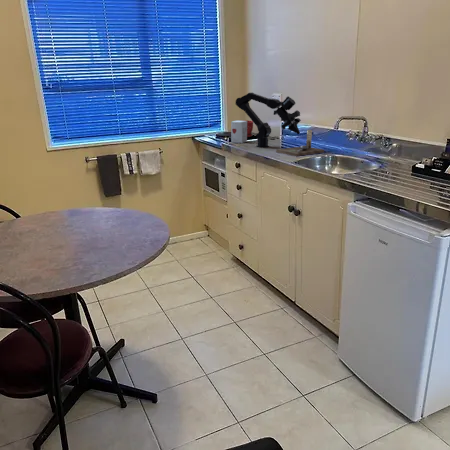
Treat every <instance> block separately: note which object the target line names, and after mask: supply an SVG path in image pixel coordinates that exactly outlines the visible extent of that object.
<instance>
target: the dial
mask: <svg viewBox="0 0 450 450" xmlns="http://www.w3.org/2000/svg"><path fill="white" fill-rule="evenodd" d="M312 135H313V129H306V143H305V144H306V145H300V146H299V147H300V150H297V151H298V152H299V151H301V150H307V148H312V138H313V137H312Z"/></svg>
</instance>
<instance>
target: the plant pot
mask: <svg viewBox="0 0 450 450" xmlns="http://www.w3.org/2000/svg"><path fill="white" fill-rule="evenodd" d="M244 121H247V138H250V137H252V135H253V133H252V132H253V129H254V122H253V121H252V120H246V119H245V120H244Z"/></svg>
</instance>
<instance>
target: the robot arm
mask: <svg viewBox="0 0 450 450" xmlns="http://www.w3.org/2000/svg"><path fill="white" fill-rule="evenodd" d="M251 100H253V101H255V102H257V103H258V102H259V103H261V104H263V105H265V106H266V107H268V108H269V109H271V110H273V114H272V115H275V116H276V115H277V116H278V117H279V118H280V121H281V122H283V123H282V124H281V130H283V131H284V130H286V127H287V130H289V131H291V132H293V133H296V134H297V135H300V134H301V131H300V130H299V126H298V124H299V123H300V122H301V121H302V120H301V119H300V118H299V117H300V116H301V112H300V111H299V110H297V109H296V110H295V111H294V112H288V111H290V110H292V108H293V107H294V106H296V102H295V100H294V99H293V98H292V97H290V96H286V97H285V99H284V100H283V101H280V99H277V98H268V97H266V96H263V95H260V94H257V93H254V92H248V93H246V94H245V95H243V96H241V97H237V98H236V99H235V105H236V106H237V108H239V109H241V111H244V112H245V114H246V115H247V117H248V118H249V119H250V121H253V124H254V125H255V126H256V128H257V131H258V132H257V133H256V134H255V137H256V139H257V145H256V147H258V148H269V139H268V138H269V136H270V135H271V134H272V128H271V126H270V125H269V123H268V122H264V121H262V120H261V119H260V117H259V116H258V115H257V114H256V112H255V111H254V110H253V108H252V107H251V106H250V103H249V102H251Z"/></svg>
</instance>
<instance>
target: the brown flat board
mask: <svg viewBox="0 0 450 450" xmlns="http://www.w3.org/2000/svg"><path fill="white" fill-rule="evenodd" d="M297 150H300V146H297V147H296V146H295V147H289V148H280V149H276V153H279V154H283V155H288V156H293V157H300V156H306V155H307V156H308V155H315V154H322V153H325V149H321V148H315V147H311V148H307V150H301V151H299V152H298V151H297Z"/></svg>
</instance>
